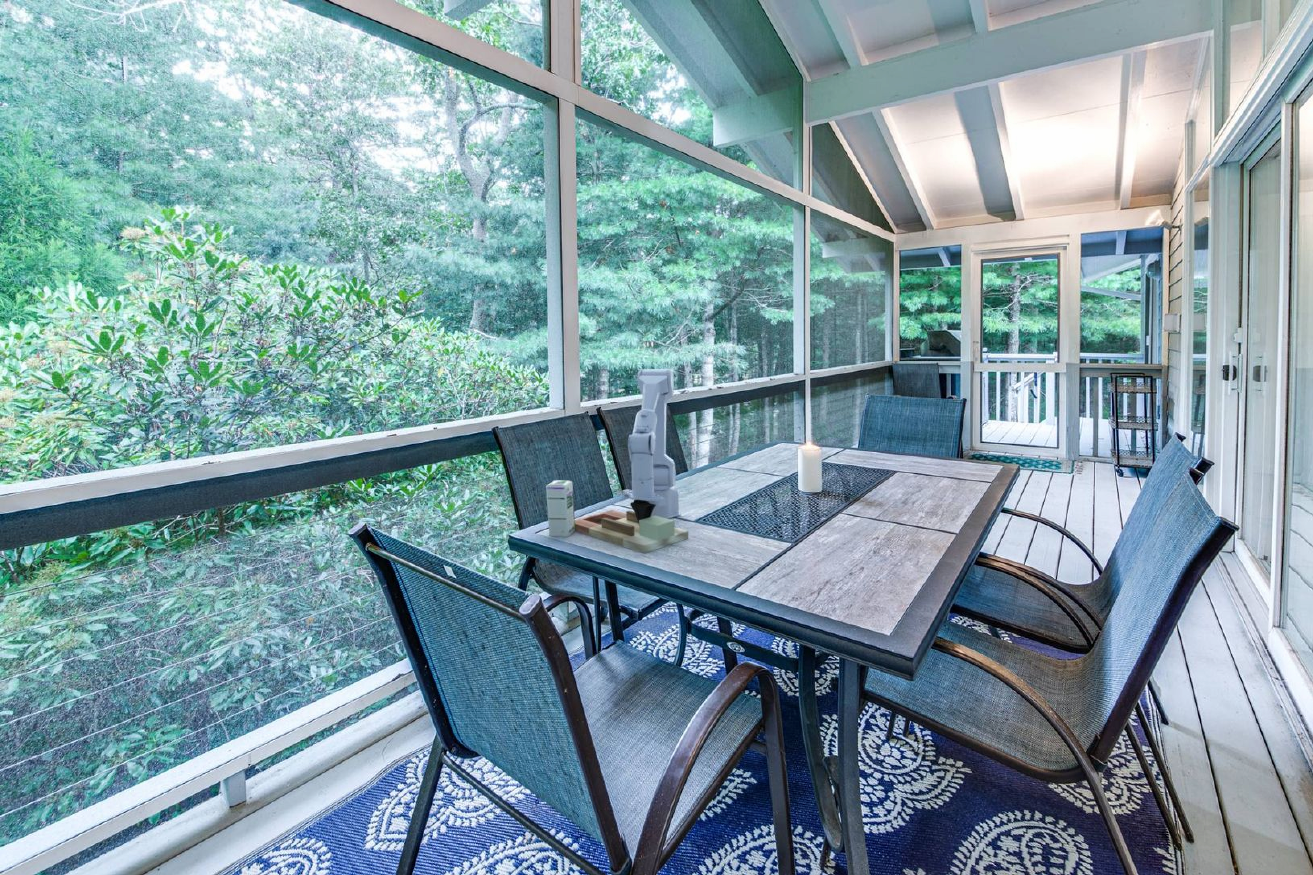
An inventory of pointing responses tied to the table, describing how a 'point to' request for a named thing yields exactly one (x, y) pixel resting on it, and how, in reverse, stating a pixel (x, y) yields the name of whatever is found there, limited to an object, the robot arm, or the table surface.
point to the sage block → (656, 528)
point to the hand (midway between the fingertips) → (643, 527)
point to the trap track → (623, 531)
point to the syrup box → (560, 508)
